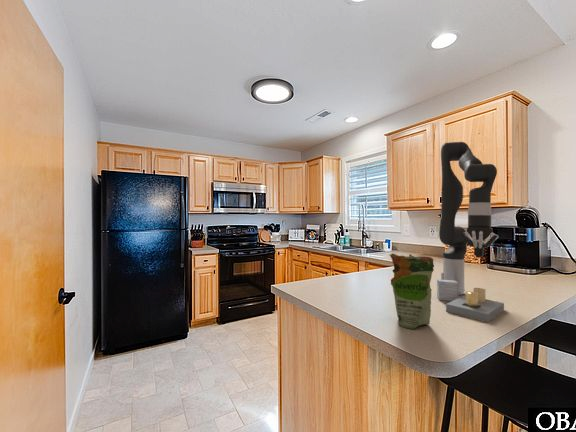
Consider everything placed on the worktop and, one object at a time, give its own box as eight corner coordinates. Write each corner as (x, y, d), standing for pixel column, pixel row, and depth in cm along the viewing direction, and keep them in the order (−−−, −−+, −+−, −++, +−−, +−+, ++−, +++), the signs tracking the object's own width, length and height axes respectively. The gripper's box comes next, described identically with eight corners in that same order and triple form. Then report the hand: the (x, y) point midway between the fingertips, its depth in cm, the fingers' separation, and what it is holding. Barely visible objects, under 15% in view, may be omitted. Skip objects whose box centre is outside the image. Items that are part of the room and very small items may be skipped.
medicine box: (456, 299, 123) (456, 280, 123) (458, 302, 119) (458, 282, 119) (436, 297, 126) (436, 279, 126) (438, 300, 122) (438, 281, 122)
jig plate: (446, 311, 107) (446, 291, 107) (464, 301, 120) (464, 283, 120) (488, 322, 96) (488, 300, 96) (504, 310, 108) (504, 290, 109)
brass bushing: (464, 312, 106) (464, 292, 106) (467, 310, 108) (467, 290, 108) (475, 315, 103) (475, 294, 103) (479, 313, 105) (479, 293, 105)
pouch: (437, 329, 90) (437, 255, 90) (406, 332, 87) (406, 256, 87) (415, 317, 101) (415, 251, 101) (387, 320, 98) (387, 252, 98)
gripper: (503, 214, 104) (502, 258, 104) (464, 214, 114) (463, 254, 114) (496, 214, 99) (495, 260, 99) (457, 214, 110) (456, 256, 110)
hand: (478, 257), depth 107 cm, fingers closed
